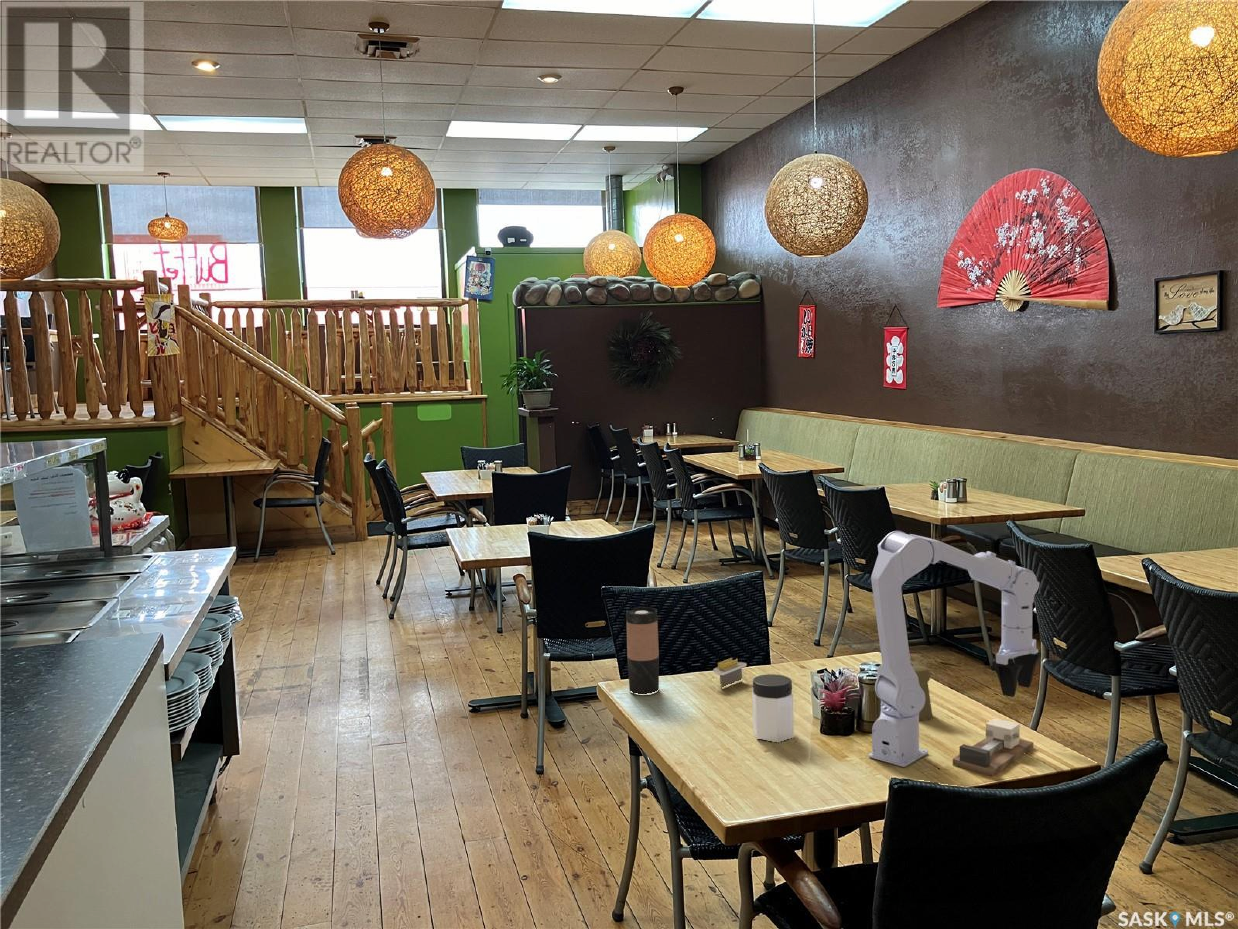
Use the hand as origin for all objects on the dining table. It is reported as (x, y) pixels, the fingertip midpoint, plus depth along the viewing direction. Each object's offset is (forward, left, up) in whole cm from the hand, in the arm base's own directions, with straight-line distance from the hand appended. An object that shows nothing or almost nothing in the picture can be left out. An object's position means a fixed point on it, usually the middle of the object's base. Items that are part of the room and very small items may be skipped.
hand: (1016, 691), depth 193 cm
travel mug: (-27, +80, -11) cm, 85 cm away
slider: (-7, 0, -9) cm, 11 cm away
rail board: (-11, 0, -10) cm, 15 cm away
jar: (-30, +39, -11) cm, 50 cm away
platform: (-10, +67, -11) cm, 69 cm away
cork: (0, +22, -11) cm, 24 cm away
